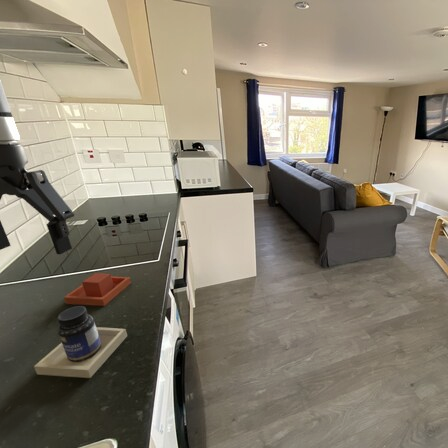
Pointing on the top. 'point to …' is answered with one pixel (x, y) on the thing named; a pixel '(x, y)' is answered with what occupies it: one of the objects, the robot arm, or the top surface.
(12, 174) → the robot arm
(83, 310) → the pill bottle
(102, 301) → the terracotta tray
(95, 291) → the block
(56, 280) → the top surface
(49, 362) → the cream tray
